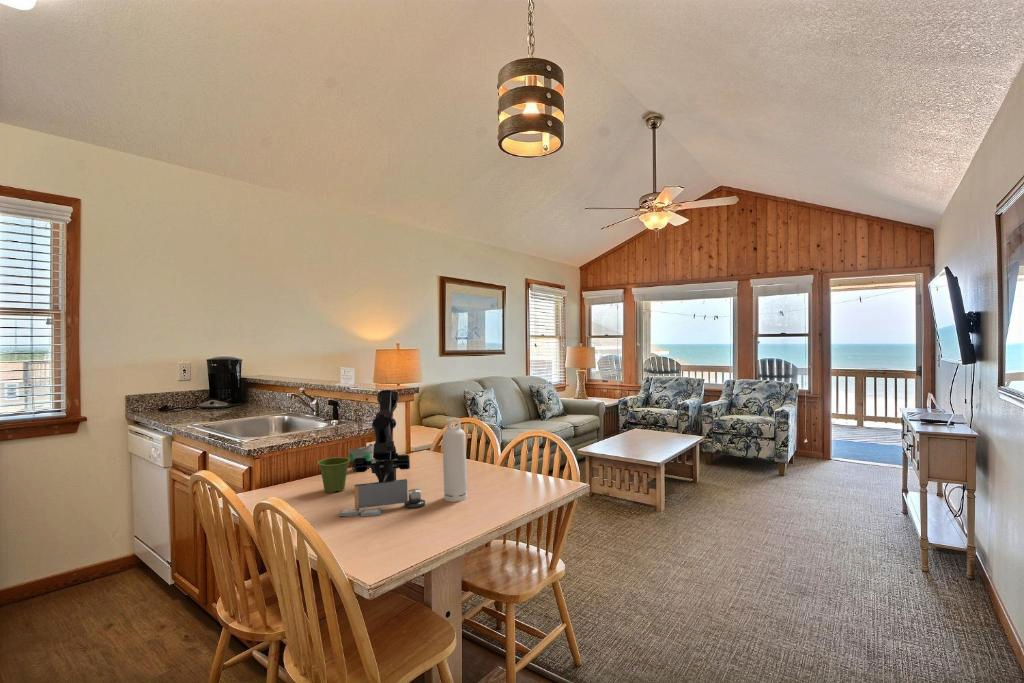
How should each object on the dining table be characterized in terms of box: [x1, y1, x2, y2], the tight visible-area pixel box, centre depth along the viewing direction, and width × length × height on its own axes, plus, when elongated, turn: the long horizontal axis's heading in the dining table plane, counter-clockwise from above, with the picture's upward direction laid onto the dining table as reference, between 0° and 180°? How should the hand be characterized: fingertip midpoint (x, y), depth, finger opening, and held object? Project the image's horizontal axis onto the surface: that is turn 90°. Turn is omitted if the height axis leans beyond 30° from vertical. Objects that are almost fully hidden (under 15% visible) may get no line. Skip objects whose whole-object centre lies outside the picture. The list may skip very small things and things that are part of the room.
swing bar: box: [353, 478, 422, 509], centre depth 168 cm, size 22×4×8 cm, turn 108°
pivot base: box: [403, 498, 426, 510], centre depth 170 cm, size 7×7×1 cm
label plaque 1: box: [338, 508, 361, 518], centre depth 163 cm, size 4×6×1 cm, turn 100°
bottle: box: [442, 417, 468, 503], centre depth 177 cm, size 8×8×28 cm
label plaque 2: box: [360, 507, 382, 517], centre depth 162 cm, size 4×6×1 cm, turn 100°
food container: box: [348, 443, 374, 472], centre depth 220 cm, size 12×6×10 cm, turn 147°
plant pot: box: [317, 456, 351, 493], centre depth 190 cm, size 12×12×11 cm
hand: (381, 485), depth 168 cm, fingers closed
